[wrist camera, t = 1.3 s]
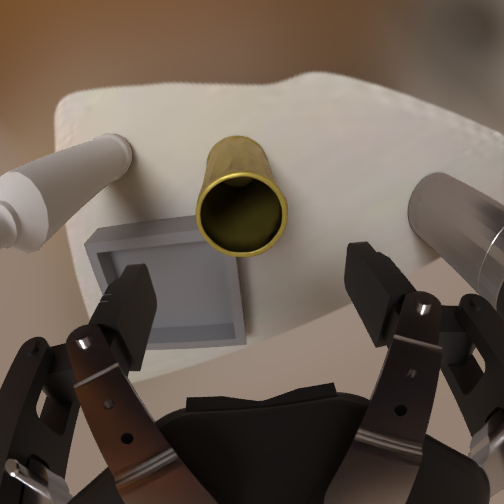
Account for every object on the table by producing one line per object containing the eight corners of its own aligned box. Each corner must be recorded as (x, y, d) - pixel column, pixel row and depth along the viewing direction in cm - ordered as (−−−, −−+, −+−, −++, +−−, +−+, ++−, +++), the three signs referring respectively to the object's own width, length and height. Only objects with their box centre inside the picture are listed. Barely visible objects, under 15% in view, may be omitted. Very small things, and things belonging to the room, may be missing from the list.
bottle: (95, 181, 28) (-70, 341, 6) (88, 136, 25) (-114, 246, 4) (137, 175, 28) (-23, 359, 6) (131, 128, 26) (-84, 237, 4)
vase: (245, 203, 31) (256, 280, 18) (195, 174, 29) (168, 233, 16) (278, 156, 28) (317, 202, 16) (228, 124, 26) (224, 141, 14)
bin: (231, 211, 31) (232, 226, 27) (245, 323, 39) (246, 344, 35) (97, 228, 31) (84, 244, 27) (134, 329, 38) (128, 349, 35)
